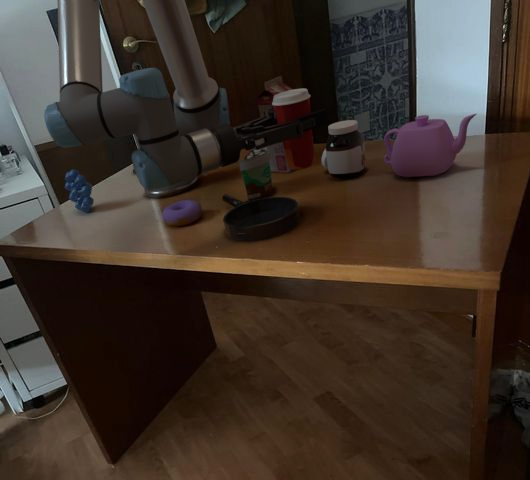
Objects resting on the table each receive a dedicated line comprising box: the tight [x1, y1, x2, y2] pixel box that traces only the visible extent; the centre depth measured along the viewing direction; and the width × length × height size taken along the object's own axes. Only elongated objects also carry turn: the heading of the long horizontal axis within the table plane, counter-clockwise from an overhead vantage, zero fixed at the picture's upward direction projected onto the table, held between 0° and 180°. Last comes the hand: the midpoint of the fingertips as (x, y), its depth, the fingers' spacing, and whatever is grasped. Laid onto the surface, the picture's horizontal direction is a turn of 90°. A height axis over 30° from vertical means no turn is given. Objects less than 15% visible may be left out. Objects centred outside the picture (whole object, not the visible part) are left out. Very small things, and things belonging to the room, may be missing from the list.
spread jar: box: [320, 119, 367, 180], centre depth 127 cm, size 12×11×12 cm
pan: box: [222, 196, 301, 242], centre depth 112 cm, size 16×16×3 cm
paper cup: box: [272, 87, 316, 170], centre depth 107 cm, size 8×8×14 cm
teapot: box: [383, 113, 478, 178], centre depth 116 cm, size 20×13×12 cm, turn 64°
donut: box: [161, 199, 203, 227], centre depth 124 cm, size 10×9×5 cm
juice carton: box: [256, 75, 296, 173], centre depth 138 cm, size 7×7×22 cm
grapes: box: [64, 168, 94, 213], centre depth 145 cm, size 12×7×12 cm, turn 46°
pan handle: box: [221, 193, 250, 208], centre depth 122 cm, size 12×3×2 cm, turn 27°
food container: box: [238, 147, 274, 201], centre depth 127 cm, size 12×6×10 cm, turn 168°
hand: (314, 114), depth 107 cm, fingers closed on paper cup, 8 cm apart
